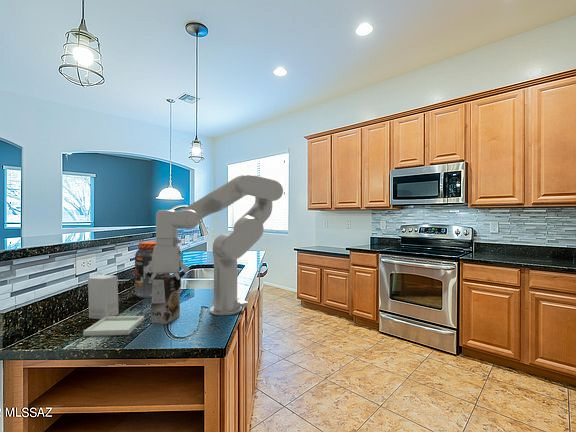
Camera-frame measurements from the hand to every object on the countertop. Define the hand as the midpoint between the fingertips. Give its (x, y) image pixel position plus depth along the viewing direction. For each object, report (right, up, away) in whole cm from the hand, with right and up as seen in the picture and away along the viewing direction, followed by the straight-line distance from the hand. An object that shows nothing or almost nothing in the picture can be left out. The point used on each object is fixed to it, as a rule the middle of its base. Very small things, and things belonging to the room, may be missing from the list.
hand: (166, 289), depth 116 cm
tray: (-14, -11, -8) cm, 20 cm away
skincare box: (-25, -11, +3) cm, 28 cm away
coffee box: (0, -12, 0) cm, 12 cm away
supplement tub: (-21, -11, +36) cm, 44 cm away
